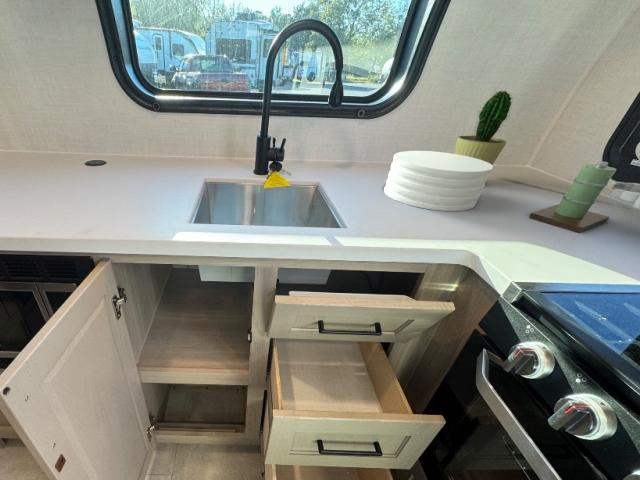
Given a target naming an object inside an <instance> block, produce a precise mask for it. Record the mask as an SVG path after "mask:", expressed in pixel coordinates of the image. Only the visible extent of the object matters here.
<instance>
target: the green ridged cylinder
mask: <svg viewBox="0 0 640 480" xmlns="http://www.w3.org/2000/svg"><path fill="white" fill-rule="evenodd" d="M616 171H617V168H615V167H611V166H609V162H607V161H602V160H601V161H598V162H597V163H596V164H594V163H589V164H588V163H586V164H584V165H583V166H582V168H581V169H580V171H579V173H578V174H577V175H576V177H575V178H574V179H573V182H572V184H571V185H570V187H569V188H568V189H567V191H566V193H565V194H564V195H563V197H562V199H561V201H560V202H559V203H558V204H559V205H558V204H557V205H558V207H557V209H556V210H555V212H556V213H557V214H560V215H562V216H566V217H571V218H583V217H584V216H585V214H586V213H587V211H590V208H591V207H592V206H593V205H594V204H595V203H596V200H597V199H598V197H599V196H600V194H601V193H602V191H603V190H604V188H605V187H606V186H608V184H609V182H610V180H612V178H613V176H614V174H616Z"/></svg>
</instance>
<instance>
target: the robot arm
mask: <svg viewBox="0 0 640 480" xmlns="http://www.w3.org/2000/svg"><path fill="white" fill-rule="evenodd" d="M635 155H636V158H637V159H638V161H639V162H640V141H639V143H638V144H636V147H635ZM611 189H612V191H611V192H610V195H609V196H610V197H612V198H617V199H619V200H623V201H626V202H630V203H632V209H635V210H636V211H640V183H636V182H622V181H616V182H615V183H614V184H613V185H612V188H611Z"/></svg>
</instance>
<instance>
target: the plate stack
mask: <svg viewBox="0 0 640 480" xmlns="http://www.w3.org/2000/svg"><path fill="white" fill-rule="evenodd" d="M493 169H494V166H493V165H491V164H490V163H488V162H485V161H483V160H480V159H476V158H472V157H468V156H463V155H457V154H454V153H451V152H443V151H431V150H405V151H398V152H396V153H394V154H393V158H392V162H391V165H390V170H389V171H388V177H387V178H386V182H385V183H386V184H385V186H384V188H383V192H384V194H385V195H386V196H387V197H388V198H390V199H392V200H394V201H396V202H399V203H401V204H405V205H408V206H412V207H415V208H420V209H425V210H432V211H443V212H463V211H468V210H471V209H473V208H475V207H476V204H477V203H478V199H479V198H480V197H481V194H482V192H483V190H484V188H485V186H486V182H487V181H488V179H489V177H490V174H491V173H492V171H493Z"/></svg>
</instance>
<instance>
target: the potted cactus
mask: <svg viewBox="0 0 640 480" xmlns="http://www.w3.org/2000/svg"><path fill="white" fill-rule="evenodd" d="M513 99H514V98H513V94H511V93H508V91H506V90H495V92H494V93H493V94H492V96H491V95H489V99H488V100H487V101H486V102H485V103H484V102H482V104H484V105H483V107H481V110H479V112H478V113H477V117H478V121H476V124H477V126H476V127H475V130H474V133H475V134H474V135H473V134H472V135H468V134H467V135H458V136H457V140H456V143H455V147H454V151H453V152H454V153H453V154H457V155H463V156H468V157H472V158H476V159H480V160H483V161H485V162H488V163H490V164H491V165H492V166H493V165H494V163H495V162H496V161H497V159H498V157H499V156H500V155H501V152H502V151H503V149H505V146H506V144H508V141H507V140H505V139H501V138H497V137H495V135H496V133H497V132H500V129H501V126H503V123H504V124H505V121H507V120H508V121H509V119H511V118H512V117H511V116H510V111H512V109H513V107H512V105H513V102H514V101H513Z"/></svg>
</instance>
